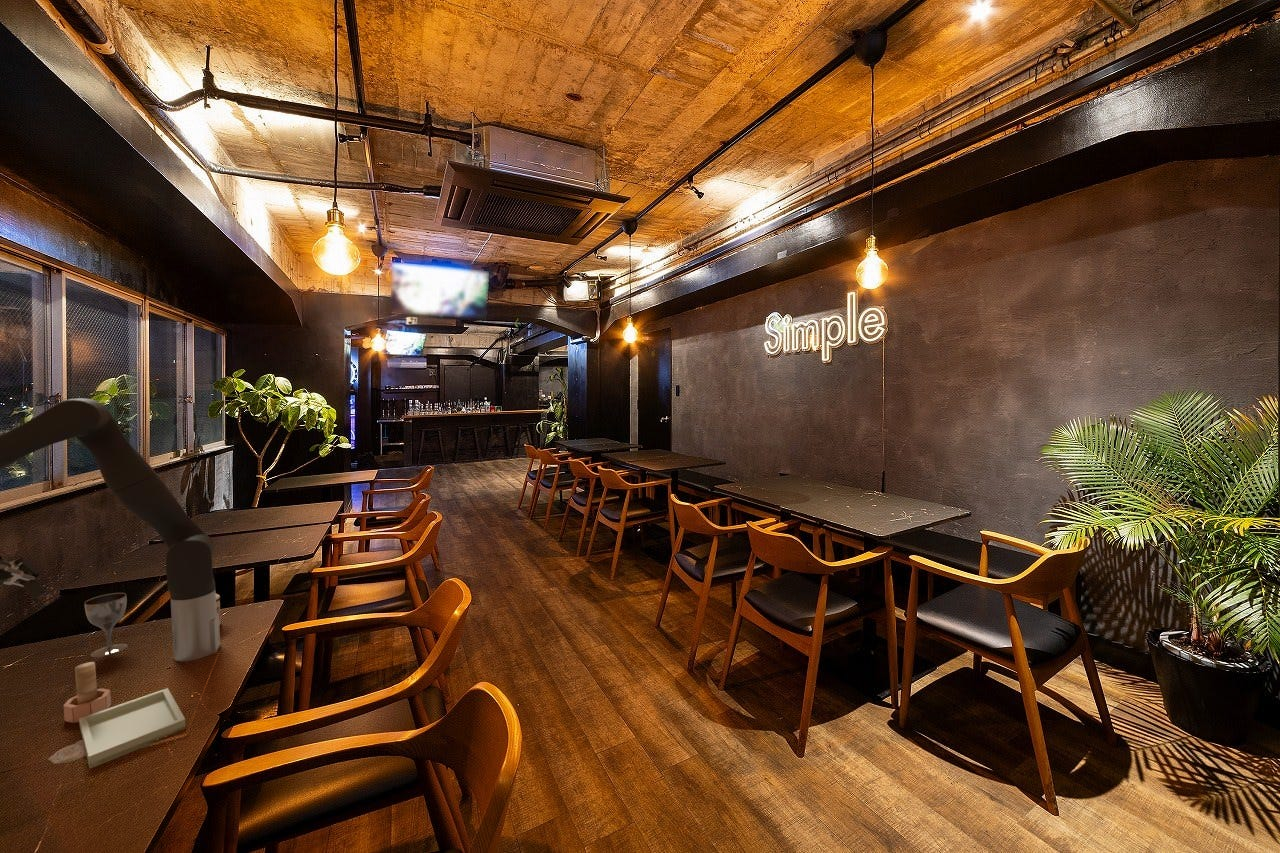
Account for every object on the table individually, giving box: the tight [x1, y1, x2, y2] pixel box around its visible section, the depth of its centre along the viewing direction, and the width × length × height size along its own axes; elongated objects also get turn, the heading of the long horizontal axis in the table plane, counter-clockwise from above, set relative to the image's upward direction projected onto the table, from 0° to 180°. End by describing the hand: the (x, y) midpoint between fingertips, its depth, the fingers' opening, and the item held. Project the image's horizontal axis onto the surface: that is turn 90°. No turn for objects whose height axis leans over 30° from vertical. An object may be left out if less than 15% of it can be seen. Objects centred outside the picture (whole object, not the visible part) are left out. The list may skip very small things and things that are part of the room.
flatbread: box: [47, 739, 87, 765], centre depth 100 cm, size 8×8×1 cm
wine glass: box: [84, 592, 129, 658], centre depth 138 cm, size 8×8×15 cm
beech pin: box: [74, 661, 98, 705], centre depth 111 cm, size 3×3×11 cm
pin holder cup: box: [63, 688, 112, 724], centre depth 112 cm, size 7×7×4 cm
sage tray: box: [78, 687, 187, 769], centre depth 107 cm, size 18×14×2 cm
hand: (17, 603), depth 110 cm, fingers open, 8 cm apart
